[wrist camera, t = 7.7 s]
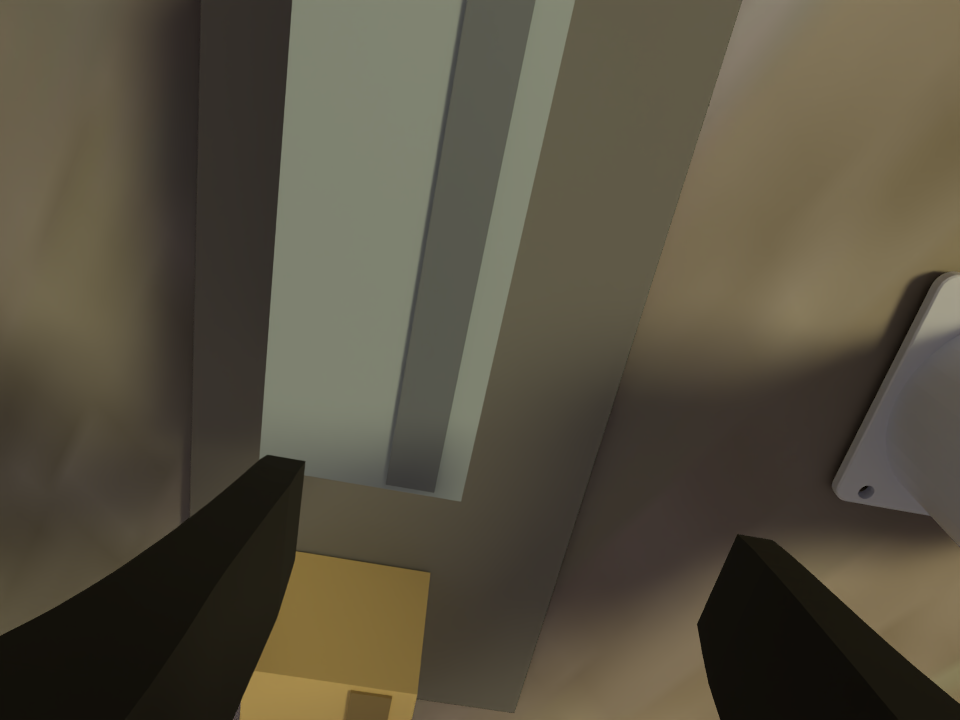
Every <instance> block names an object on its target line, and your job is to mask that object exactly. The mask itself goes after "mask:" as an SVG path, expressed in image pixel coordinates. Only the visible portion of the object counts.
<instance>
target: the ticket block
mask: <svg viewBox="0 0 960 720" xmlns="http://www.w3.org/2000/svg"><path fill="white" fill-rule="evenodd" d="M574 3H575V0H292V12H291V26H290V40H289V54H288V67H287V81H286V95H285V109H284V123H283V137H282V151H281V165H280V179H279V193H278V206H277V220H276V234H275V248H274V262H273V276H272V290H271V304H270V318H269V332H268V345H267V359H266V373H265V387H264V401H263V415H262V429H261V443H260V457H259V460H260V459H261V458H263V457H264V456H266V455H273V456H279V457H284V458H290V459H296V460H302V461H306V462H305V471H304V475H306V476H312V477H318V478H323V479H329V480H335V481H341V482H347V483H353V484H359V485H365V486H371V487H377V488H383V489H389V490H395V491H401V492H407V493H413V494H419V495H425V496H431V497H437V498H443V499H448V500H454V501H460V502H461V499H462V495H463V490H464V486H465V481H466V477H467V473H468V468H469V464H470V459H471V455H472V451H473V446H474V442H475V437H476V433H477V429H478V424H479V420H480V416H481V411H482V407H483V402H484V398H485V394H486V389H487V385H488V380H489V376H490V372H491V367H492V363H493V358H494V354H495V350H496V345H497V341H498V337H499V332H500V328H501V323H502V319H503V315H504V310H505V306H506V301H507V297H508V293H509V288H510V284H511V279H512V275H513V271H514V266H515V262H516V258H517V253H518V249H519V244H520V240H521V236H522V231H523V227H524V222H525V218H526V214H527V209H528V205H529V200H530V196H531V192H532V187H533V183H534V178H535V174H536V170H537V165H538V161H539V157H540V152H541V148H542V143H543V139H544V135H545V130H546V126H547V121H548V117H549V113H550V108H551V104H552V99H553V95H554V91H555V86H556V82H557V78H558V73H559V69H560V64H561V60H562V56H563V51H564V47H565V42H566V38H567V34H568V29H569V25H570V20H571V16H572V12H573V7H574Z"/></svg>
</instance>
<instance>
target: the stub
mask: <svg viewBox="0 0 960 720" xmlns="http://www.w3.org/2000/svg"><path fill="white" fill-rule="evenodd" d="M429 581H430V573H429V572H423V571H416V570H410V569H404V568H398V567H391V566H385V565H379V564H373V563H366V562H360V561H354V560H348V559H341V558H335V557H329V556H323V555H316V554H310V553H304V552H298V551H296V556H295V562H294V565H293V569H292V572H291V575H290V578H289V582H288V585H287V588H286V592H285V595H284V598H283V601H282V604H281V607H280V611H279V614H278V617H277V620H276V622H275V624H274V627H273V629H272V631H271V634H270V636H269V638H268V640H267V643H266V645H265V647H264V650H263V652H262V654H261V656H260V659H259V661H258V663H257V666H256V668H255V670H254V672H253V675H252V677H251V679H250V682H249V684H248V686H247V688H246V691H245V693H244V695H243V697H242V700H241V708H240V720H412V716H413V711H414V707H415V702H416V698H417V693H418V683H419V674H420V665H421V655H422V646H423V637H424V628H425V618H426V609H427V600H428V591H429Z"/></svg>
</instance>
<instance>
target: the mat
mask: <svg viewBox="0 0 960 720" xmlns="http://www.w3.org/2000/svg"><path fill="white" fill-rule="evenodd" d="M741 3H742V0H575V3H574V7H573V12H572V16H571V20H570V25H569V29H568V34H567V38H566V42H565V47H564V51H563V56H562V60H561V64H560V69H559V73H558V78H557V82H556V86H555V91H554V95H553V99H552V104H551V108H550V113H549V117H548V121H547V126H546V130H545V135H544V139H543V143H542V148H541V152H540V157H539V161H538V165H537V170H536V174H535V178H534V183H533V187H532V192H531V196H530V200H529V205H528V209H527V214H526V218H525V222H524V227H523V231H522V236H521V240H520V244H519V249H518V253H517V258H516V262H515V266H514V271H513V275H512V279H511V284H510V288H509V293H508V297H507V301H506V306H505V310H504V315H503V319H502V323H501V328H500V332H499V337H498V341H497V345H496V350H495V354H494V358H493V363H492V367H491V372H490V376H489V380H488V385H487V389H486V394H485V398H484V402H483V407H482V411H481V416H480V420H479V424H478V429H477V433H476V437H475V442H474V446H473V451H472V455H471V459H470V464H469V468H468V473H467V477H466V481H465V486H464V490H463V495H462V499H461V502H460V501H454V500H448V499H443V498H437V497H431V496H425V495H419V494H413V493H407V492H401V491H395V490H389V489H383V488H377V487H371V486H365V485H359V484H353V483H347V482H341V481H335V480H329V479H323V478H318V477H312V476H306V475H304V481H303V490H302V499H301V509H300V518H299V528H298V537H297V546H296V551H298V552H304V553H310V554H316V555H323V556H329V557H335V558H341V559H348V560H354V561H360V562H366V563H373V564H379V565H385V566H391V567H398V568H404V569H410V570H416V571H423V572H429V573H430V581H429V591H428V600H427V609H426V618H425V628H424V637H423V646H422V655H421V665H420V674H419V683H418V693H417V698H416V699H420V700H427V701H434V702H441V703H447V704H454V705H461V706H468V707H475V708H482V709H489V710H495V711H502V712H509V713H514V712H515V709H516V706H517V703H518V700H519V697H520V693H521V690H522V687H523V684H524V681H525V678H526V675H527V672H528V668H529V665H530V662H531V659H532V656H533V653H534V650H535V647H536V643H537V640H538V637H539V634H540V631H541V628H542V625H543V622H544V618H545V615H546V612H547V609H548V606H549V603H550V600H551V597H552V593H553V590H554V587H555V584H556V581H557V578H558V575H559V572H560V568H561V565H562V562H563V559H564V556H565V553H566V550H567V547H568V543H569V540H570V537H571V534H572V531H573V528H574V525H575V522H576V518H577V515H578V512H579V509H580V506H581V503H582V500H583V497H584V493H585V490H586V487H587V484H588V481H589V478H590V475H591V472H592V468H593V465H594V462H595V459H596V456H597V453H598V450H599V447H600V443H601V440H602V437H603V434H604V431H605V428H606V425H607V422H608V418H609V415H610V412H611V409H612V406H613V403H614V400H615V397H616V393H617V390H618V387H619V384H620V381H621V378H622V375H623V372H624V368H625V365H626V362H627V359H628V356H629V353H630V350H631V347H632V343H633V340H634V337H635V334H636V331H637V328H638V325H639V322H640V318H641V315H642V312H643V309H644V306H645V303H646V300H647V297H648V293H649V290H650V287H651V284H652V281H653V278H654V275H655V272H656V268H657V265H658V262H659V259H660V256H661V253H662V250H663V247H664V243H665V240H666V237H667V234H668V231H669V228H670V225H671V222H672V218H673V215H674V212H675V209H676V206H677V203H678V200H679V197H680V193H681V190H682V187H683V184H684V181H685V178H686V175H687V171H688V168H689V165H690V162H691V159H692V156H693V153H694V150H695V146H696V143H697V140H698V137H699V134H700V131H701V128H702V125H703V121H704V118H705V115H706V112H707V109H708V106H709V103H710V100H711V96H712V93H713V90H714V87H715V84H716V81H717V78H718V75H719V71H720V68H721V65H722V62H723V59H724V56H725V53H726V50H727V46H728V43H729V40H730V37H731V34H732V31H733V28H734V25H735V21H736V18H737V15H738V12H739V9H740V6H741ZM291 12H292V0H201V16H200V62H199V109H198V155H197V202H196V248H195V295H194V341H193V388H192V434H191V481H190V517H191V516H193V515H194V514H195V513H196V512H198V511H199V510H200V509H201V508H203V507H204V506H205V505H207V504H208V503H209V502H210V501H212V500H213V499H214V498H215V497H216V496H218V495H219V494H220V493H221V492H222V491H224V490H225V489H226V488H227V487H228V486H230V485H231V484H232V483H233V482H234V481H235V480H237V479H238V478H239V477H240V476H241V475H242V474H244V473H245V472H246V471H247V470H248V469H249V468H250V467H252V466H253V465H254V464H255V463H256V462H257V461H258V460H259V457H260V443H261V429H262V415H263V401H264V387H265V373H266V359H267V345H268V332H269V318H270V304H271V290H272V276H273V262H274V248H275V234H276V220H277V206H278V193H279V179H280V165H281V151H282V137H283V123H284V109H285V95H286V81H287V67H288V54H289V40H290V26H291Z"/></svg>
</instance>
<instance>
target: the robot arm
mask: <svg viewBox="0 0 960 720" xmlns="http://www.w3.org/2000/svg"><path fill="white" fill-rule="evenodd" d="M305 462H306V461H302V460H296V459H290V458H284V457H279V456H273V455H266V456H264V457H263V458H261V459H260V460H258V461H257V462H256V463H255V464H254V465H253V466H252V467H250V468H249V469H248V470H247V471H246V472H245V473H244V474H242V475H241V476H240V477H239V478H238V479H237V480H235V481H234V482H233V483H232V484H231V485H230V486H228V487H227V488H226V489H225V490H224V491H222V492H221V493H220V494H219V495H218V496H216V497H215V498H214V499H213V500H212V501H210V502H209V503H208V504H207V505H205V506H204V507H203V508H201V509H200V510H199V511H198V512H196V513H195V514H194V515H193V516H191V517H190V518H189V519H187V520H186V521H185V522H184V523H182V524H181V525H180V526H178V527H177V528H176V529H174V530H173V531H172V532H170V533H169V534H168V535H166V536H165V537H164V538H162V539H161V540H159V541H158V542H156V543H155V544H154V545H152V546H151V547H149V548H148V549H146V550H145V551H144V552H142V553H141V554H139V555H138V556H136V557H135V558H134V559H132V560H131V561H129V562H128V563H126V564H125V565H123V566H122V567H120V568H119V569H117V570H116V571H114V572H113V573H111V574H110V575H108V576H106V577H105V578H103V579H102V580H100V581H99V582H97V583H95V584H94V585H92V586H90V587H89V588H87V589H86V590H84V591H82V592H80V593H79V594H77V595H75V596H74V597H72V598H70V599H69V600H67V601H65V602H64V603H62V604H60V605H58V606H57V607H55V608H53V609H51V610H49V611H48V612H46V613H44V614H42V615H40V616H38V617H36V618H34V619H33V620H31V621H29V622H27V623H25V624H23V625H21V626H19V627H17V628H15V629H13V630H11V631H9V632H7V633H5V634H3V635H1V636H0V720H233V718H234V716H235V713H236V711H237V709H238V706H239V704H240V702H241V700H242V697H243V695H244V693H245V691H246V688H247V686H248V684H249V682H250V679H251V677H252V675H253V672H254V670H255V668H256V666H257V663H258V661H259V659H260V656H261V654H262V652H263V650H264V647H265V645H266V643H267V640H268V638H269V636H270V634H271V631H272V629H273V627H274V624H275V622H276V620H277V617H278V614H279V611H280V607H281V604H282V601H283V598H284V595H285V592H286V588H287V585H288V582H289V578H290V575H291V572H292V569H293V565H294V562H295V556H296V546H297V537H298V528H299V518H300V509H301V499H302V490H303V481H304V471H305ZM864 486H868V487H867V488H866V489H865V490H863V491H861V492H859V490H860V489H861V488H862V487H864ZM832 489H833V491H834V493H835V494H836V495H837V496H838V497H839V499H841V500H844V501H848V502H853V503H859V504H865V505H870V506H876V507H882V508H887V509H893V510H899V511H905V512H910V513H916V514H922V515H927V516H931V517H932V518H933V519H934V520H935V521H936V522H937V523H938V524H939V525H940V527H941V528H942V529H943V530H944V531H945V532H946V533H947V534H948V535H949V536H950V537H951V538H952V540H953V541H954V542H955V543H956V544H957V545H958V546H959V547H960V272H947V273H944V274H942V275H941V276H939V277H938V278H936V280H935V281H934V282H933V284H932V285H931V287H930V289H929V291H928V293H927V295H926V297H925V299H924V301H923V303H922V305H921V307H920V309H919V311H918V313H917V315H916V317H915V319H914V321H913V323H912V325H911V327H910V329H909V331H908V333H907V335H906V337H905V339H904V341H903V343H902V345H901V347H900V349H899V351H898V353H897V355H896V357H895V359H894V361H893V363H892V365H891V367H890V369H889V371H888V373H887V375H886V377H885V379H884V381H883V383H882V385H881V387H880V389H879V391H878V392H877V394H876V396H875V398H874V400H873V402H872V404H871V406H870V408H869V410H868V412H867V414H866V416H865V418H864V420H863V422H862V424H861V426H860V428H859V430H858V432H857V434H856V436H855V438H854V440H853V442H852V444H851V446H850V448H849V450H848V452H847V454H846V456H845V458H844V460H843V462H842V464H841V466H840V468H839V470H838V472H837V474H836V476H835V478H834V480H833V483H832ZM697 626H698V632H699V637H700V643H701V649H702V654H703V659H704V664H705V669H706V673H707V678H708V683H709V686H710V689H711V693H712V696H713V699H714V702H715V705H716V708H717V711H718V714H719V717H720V720H960V704H959V703H958V702H957V701H955V700H954V699H953V698H952V697H951V696H949V695H948V694H947V693H946V692H945V691H943V690H942V689H941V688H940V687H939V686H937V685H936V684H935V683H934V682H933V681H931V680H930V679H929V678H928V677H927V676H925V675H924V674H923V673H922V672H921V671H919V670H918V669H917V668H916V667H915V666H913V665H912V664H911V663H910V662H909V661H908V660H907V659H905V658H904V657H903V656H902V655H901V654H900V653H899V652H897V651H896V650H895V649H894V648H893V647H892V646H890V645H889V644H888V643H887V642H886V641H885V640H884V639H883V638H882V637H880V636H879V635H878V634H877V633H876V632H875V631H874V630H873V629H872V628H870V627H869V626H868V625H867V624H866V623H865V622H864V621H863V620H862V619H860V618H859V617H858V616H857V615H856V614H855V613H854V612H853V611H852V610H851V609H850V608H848V607H847V606H846V605H845V604H844V603H843V602H842V601H841V600H840V599H839V598H838V597H837V596H835V595H834V594H833V593H832V592H831V591H830V590H829V589H828V588H827V587H826V586H825V585H823V584H822V583H821V582H820V581H819V580H818V579H817V578H816V577H815V576H814V575H813V574H811V573H810V572H809V571H808V570H807V569H806V568H805V567H804V566H803V565H801V564H800V563H799V562H798V561H797V560H796V559H795V558H794V557H792V556H791V555H790V554H789V553H788V552H786V551H785V550H784V549H783V548H782V547H780V546H779V545H778V544H777V543H775V542H774V541H773V540H768V539H762V538H756V537H750V536H744V535H739V534H737V536H736V539H735V541H734V543H733V545H732V548H731V550H730V552H729V554H728V557H727V559H726V561H725V563H724V565H723V568H722V570H721V572H720V574H719V577H718V579H717V581H716V583H715V585H714V588H713V590H712V592H711V594H710V597H709V599H708V601H707V603H706V605H705V608H704V610H703V612H702V614H701V617H700V619H699V621H698V623H697Z"/></svg>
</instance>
